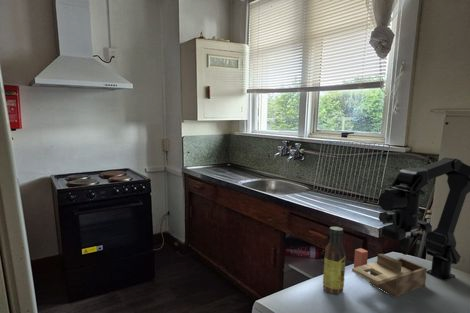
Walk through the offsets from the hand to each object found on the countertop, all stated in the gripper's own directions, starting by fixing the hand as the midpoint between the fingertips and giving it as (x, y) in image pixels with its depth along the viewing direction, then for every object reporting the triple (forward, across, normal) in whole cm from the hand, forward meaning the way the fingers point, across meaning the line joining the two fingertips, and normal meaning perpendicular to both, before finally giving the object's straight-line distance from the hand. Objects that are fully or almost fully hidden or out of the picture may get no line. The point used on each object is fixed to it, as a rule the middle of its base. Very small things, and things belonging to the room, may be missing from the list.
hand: (404, 254), depth 100 cm
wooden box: (+10, +3, 0) cm, 10 cm away
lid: (+4, +11, 0) cm, 12 cm away
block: (+10, +7, -12) cm, 17 cm away
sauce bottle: (+10, +25, -7) cm, 28 cm away
